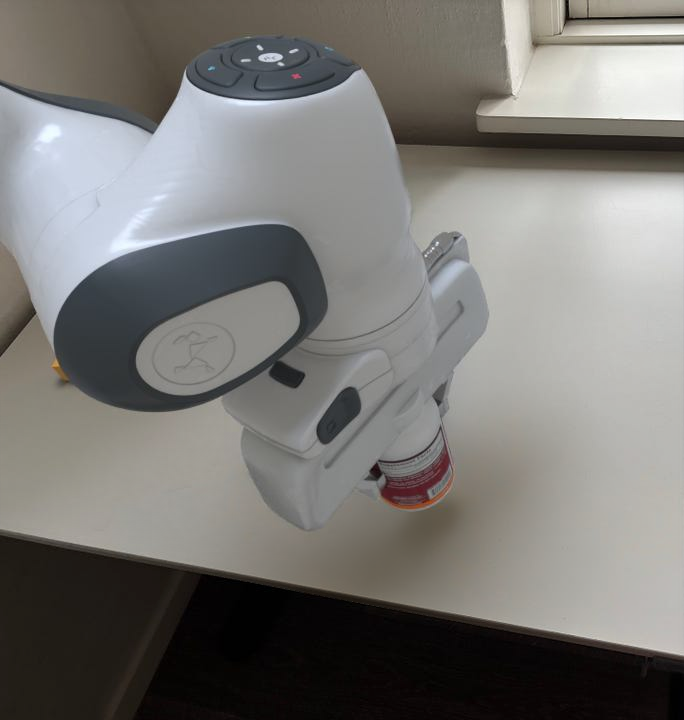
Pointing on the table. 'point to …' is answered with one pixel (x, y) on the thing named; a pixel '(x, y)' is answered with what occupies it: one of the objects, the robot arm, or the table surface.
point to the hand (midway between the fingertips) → (405, 450)
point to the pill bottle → (417, 458)
